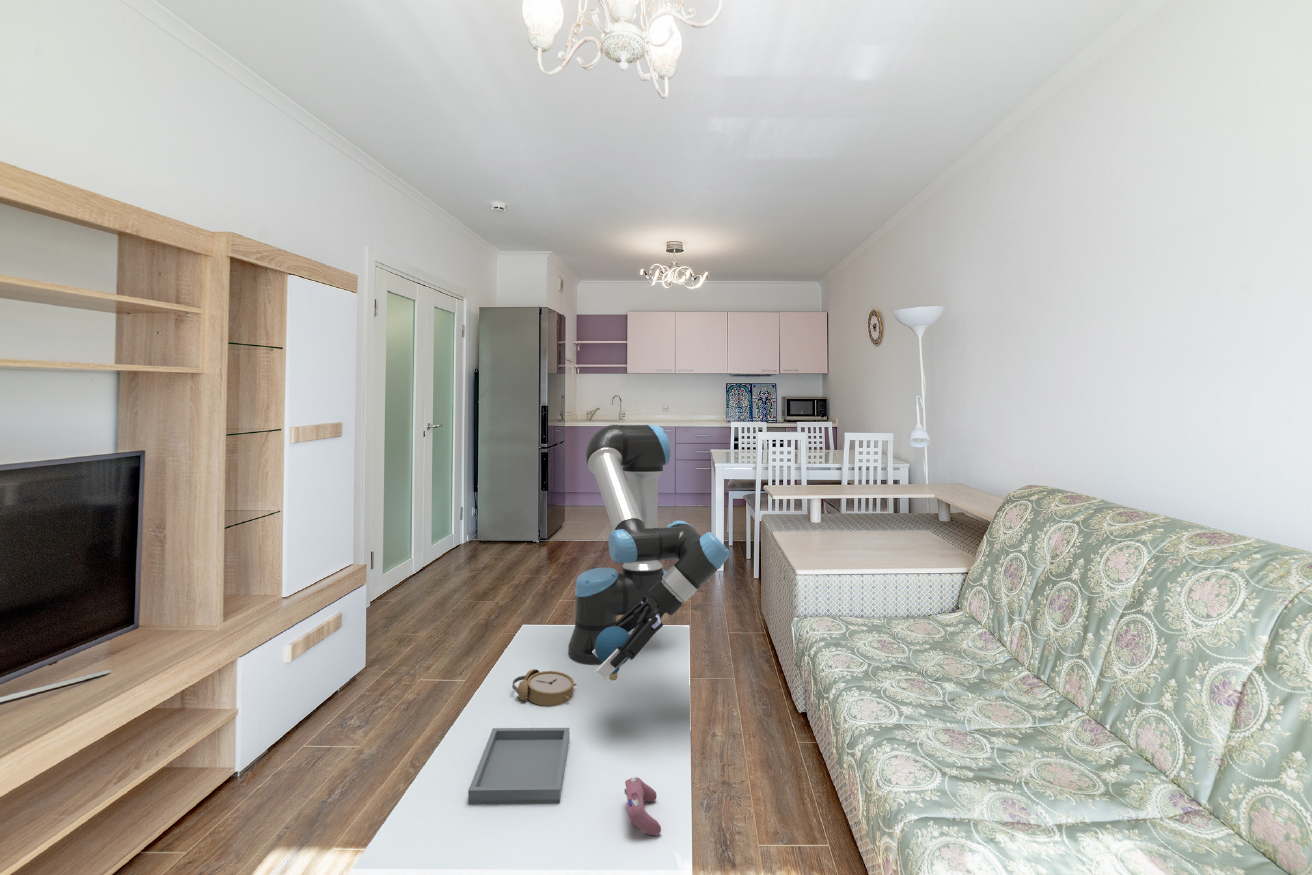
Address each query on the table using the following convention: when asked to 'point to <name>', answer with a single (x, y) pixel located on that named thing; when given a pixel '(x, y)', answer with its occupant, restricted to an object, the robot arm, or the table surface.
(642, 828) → the video game controller
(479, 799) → the tray
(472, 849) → the table surface
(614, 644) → the light bulb
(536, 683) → the alarm clock
